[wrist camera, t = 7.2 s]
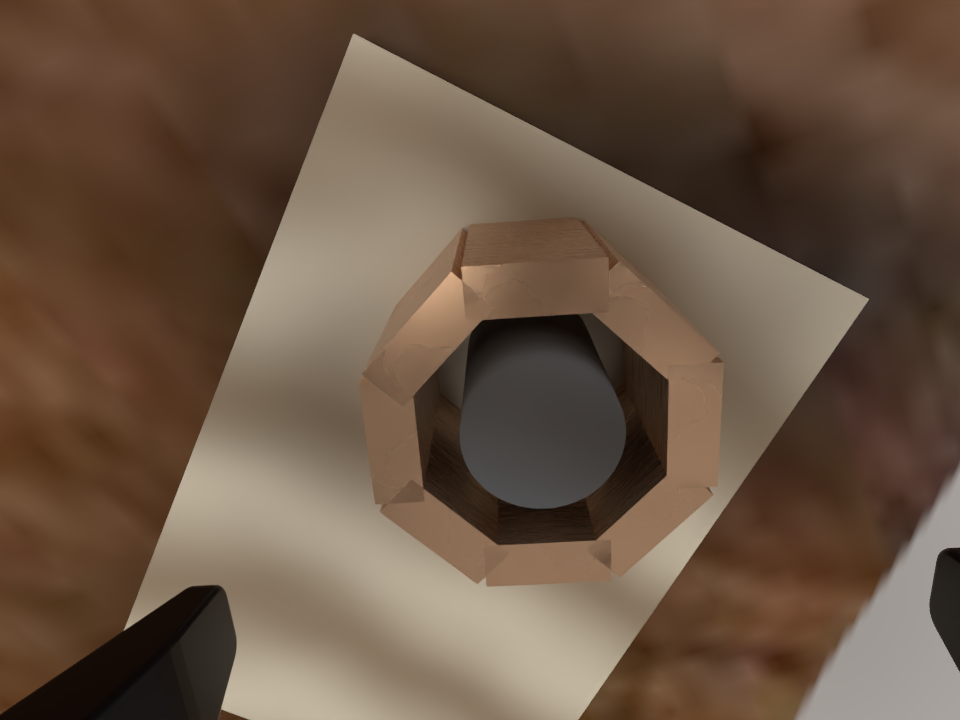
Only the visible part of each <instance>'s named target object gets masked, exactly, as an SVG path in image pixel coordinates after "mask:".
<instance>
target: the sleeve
mask: <svg viewBox="0 0 960 720" xmlns="http://www.w3.org/2000/svg"><path fill="white" fill-rule="evenodd" d="M586 313H593V314H594V315H595V316H596V317H597V318H598V319H599V320H600V321H602V322H603V323H604V324H605V325H606V326H607V327H608V328H609V329H611V330H612V331H613V332H614V333H615V334H616V335H617V336H619V337H620V338H621V339H622V384H621V385H620V386H619V387H618V388H617V389H616V390H615V393H616V396H617V398H618V400H619V402H620V405H621V408H622V410H623V414H624V418H625V424H626V440H625V445H624V450H623V453H622V456H621V459H620V461H619V463H618V465H617V467H616V469H615V470H614V472H613V473H612V474H611V476H610V477H609V478H608V479H607V480H606V481H605V483H604V484H603V485H602V486H600V487H599V488H598V489H597V490H596V491H594V492H593V493H591V494H590V495H588V496H587V497H585V498H583V499H581V500H579V501H577V502H574V503H571V504H568V505H565V506H561V507H556V508H547V509H534V508H526V507H521V506H517V505H514V504H511V503H508V502H505V501H503V500H501V499H499V498H498V497H496V496H494V495H493V494H491V493H490V492H488V491H487V490H486V489H485V488H484V487H483V486H481V485H480V484H479V482H478V481H477V480H476V479H475V478H474V477H473V475H472V474H471V472H470V471H469V469H468V467H467V465H466V463H465V461H464V458H463V455H462V451H461V446H460V422H461V412H462V410H461V409H459V408H458V407H457V406H456V405H454V404H453V403H452V402H451V401H449V400H448V399H447V398H446V397H444V396H443V395H442V394H441V393H440V382H439V372H438V368H439V367H440V366H441V365H442V364H443V362H444V361H445V360H446V359H447V358H448V357H449V356H450V355H451V354H452V353H453V352H454V350H455V349H456V348H457V347H458V346H459V345H460V344H461V343H462V342H463V341H464V339H465V338H466V337H467V336H468V335H469V334H470V333H471V332H472V331H473V330H474V328H475V327H476V326H477V325H478V324H479V323H480V322H481V321H482V320H489V319H505V318H521V317H538V316H554V315H570V314H586ZM719 354H720V353H719V352H718V350H717V349H716V348H715V347H714V346H713V345H712V344H711V343H710V342H709V341H708V340H707V339H706V338H705V337H704V336H703V335H702V334H701V332H700V331H699V330H698V329H697V328H696V327H695V326H694V325H693V324H692V323H691V322H690V321H689V320H688V319H687V318H686V317H685V316H684V314H683V313H682V312H681V311H680V310H679V309H678V308H677V307H676V306H675V305H674V304H673V303H672V302H671V301H670V300H669V299H668V297H667V296H666V295H665V294H664V293H663V292H662V291H661V290H660V289H659V288H658V287H657V286H656V285H655V284H654V283H652V282H651V281H650V280H649V279H648V278H647V277H646V276H645V275H644V274H643V273H642V272H641V271H639V270H638V269H637V268H636V267H635V266H634V265H633V264H632V263H631V262H630V261H629V260H627V259H626V258H625V257H624V256H623V255H622V254H621V253H620V252H619V251H618V250H617V249H615V248H614V247H613V246H612V245H611V244H610V243H609V242H608V241H607V240H606V239H605V238H604V237H602V236H601V235H600V234H599V233H598V232H597V231H596V230H595V229H594V228H593V227H592V226H590V225H589V224H588V223H587V222H586V221H585V220H583V222H582V223H581V222H580V221H579V220H578V218H577V217H570V218H555V219H540V220H525V221H510V222H495V223H480V224H470V225H469V230H468V232H467V231H465V230H464V229H463V228H462V229H461V230H460V231H459V232H458V233H457V235H456V236H455V237H454V238H453V239H452V240H451V242H450V243H449V244H448V245H447V246H446V247H445V249H444V250H443V251H442V252H441V253H440V254H439V256H438V257H437V258H436V259H435V260H434V261H433V263H432V264H431V265H430V266H429V267H428V268H427V270H426V271H425V272H424V273H423V274H422V275H421V277H420V278H419V279H418V280H417V281H416V282H415V284H414V285H413V286H412V287H411V288H410V289H409V290H408V292H407V293H406V294H405V295H404V296H403V297H402V299H401V300H400V301H399V302H398V303H397V304H396V306H395V308H394V310H393V312H392V314H391V316H390V318H389V320H388V322H387V324H386V326H385V328H384V330H383V332H382V334H381V336H380V338H379V340H378V342H377V344H376V346H375V348H374V350H373V352H372V354H371V356H370V358H369V360H368V362H367V364H366V366H365V368H364V370H363V373H362V375H363V376H362V378H361V380H360V382H359V389H360V397H361V404H362V412H363V419H364V426H365V434H366V441H367V449H368V456H369V463H370V471H371V478H372V486H373V493H374V500H375V504H382V507H381V510H380V513H381V514H383V515H384V516H386V517H387V518H388V519H390V520H391V521H392V522H394V523H395V524H396V525H398V526H399V527H400V528H402V529H403V530H404V531H406V532H407V533H409V534H410V535H411V536H413V537H414V538H415V539H417V540H418V541H419V542H421V543H422V544H423V545H425V546H426V547H428V548H429V549H430V550H432V551H433V552H434V553H436V554H437V555H438V556H440V557H441V558H442V559H444V560H445V561H446V562H448V563H449V564H451V565H452V566H453V567H455V568H456V569H457V570H459V571H460V572H461V573H463V574H464V575H465V576H467V577H468V578H469V579H471V580H472V581H474V582H475V583H476V584H478V583H479V582H480V581H481V580H482V579H483V578H485V577H486V587H496V586H517V585H538V584H559V583H580V582H601V581H611V571H613V572H614V573H615V574H616V575H618V576H619V577H621V576H623V575H624V574H625V573H626V572H627V571H628V570H629V569H630V568H632V567H633V566H634V565H635V564H636V563H637V562H638V561H640V560H641V559H642V558H643V557H644V556H645V555H646V554H647V553H649V552H650V551H651V550H652V549H653V548H654V547H655V546H656V545H658V544H659V543H660V542H661V541H662V540H663V539H664V538H666V537H667V536H668V535H669V534H670V533H671V532H672V531H673V530H675V529H676V528H677V527H678V526H679V525H680V524H681V523H682V522H684V521H685V520H686V519H687V518H688V517H689V516H690V515H692V514H693V513H694V512H695V511H696V510H697V509H698V508H699V507H701V506H702V505H703V504H704V503H705V502H706V501H707V500H708V499H710V498H711V497H712V496H713V493H712V492H711V490H710V488H709V487H718V471H719V451H720V430H721V410H722V389H723V369H724V362H723V361H722V360H721V359H720V358H719V357H718V355H719Z"/></svg>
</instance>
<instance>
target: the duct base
mask: <svg viewBox="0 0 960 720" xmlns="http://www.w3.org/2000/svg"><path fill="white" fill-rule="evenodd" d="M570 217H577V218H578V220H579V221H580V222H581V223H582V222H583V220H585V221H586V222H587V223H588V224H589V225H590V226H592V227H593V228H594V229H595V230H596V231H597V232H598V233H599V234H600V235H601V236H602V237H604V238H605V239H606V240H607V241H608V242H609V243H610V244H611V245H612V246H613V247H614V248H615V249H617V250H618V251H619V252H620V253H621V254H622V255H623V256H624V257H625V258H626V259H627V260H629V261H630V262H631V263H632V264H633V265H634V266H635V267H636V268H637V269H638V270H639V271H641V272H642V273H643V274H644V275H645V276H646V277H647V278H648V279H649V280H650V281H651V282H652V283H654V284H655V285H656V286H657V287H658V288H659V289H660V290H661V291H662V292H663V293H664V294H665V295H666V296H667V297H668V299H669V300H670V301H671V302H672V303H673V304H674V305H675V306H676V307H677V308H678V309H679V310H680V311H681V312H682V313H683V314H684V316H685V317H686V318H687V319H688V320H689V321H690V322H691V323H692V324H693V325H694V326H695V327H696V328H697V329H698V330H699V331H700V332H701V334H702V335H703V336H704V337H705V338H706V339H707V340H708V341H709V342H710V343H711V344H712V345H713V346H714V347H715V348H716V349H717V350H718V352H719V353H720V354H719V355H718V357H719V358H720V359H721V360H722V361H723V362H724V369H723V389H722V410H721V430H720V451H719V471H718V487H709V488H710V490H711V492H712V493H713V496H712V497H711V498H710V499H708V500H707V501H706V502H705V503H704V504H703V505H702V506H701V507H699V508H698V509H697V510H696V511H695V512H694V513H693V514H692V515H690V516H689V517H688V518H687V519H686V520H685V521H684V522H682V523H681V524H680V525H679V526H678V527H677V528H676V529H675V530H673V531H672V532H671V533H670V534H669V535H668V536H667V537H666V538H664V539H663V540H662V541H661V542H660V543H659V544H658V545H656V546H655V547H654V548H653V549H652V550H651V551H650V552H649V553H647V554H646V555H645V556H644V557H643V558H642V559H641V560H640V561H638V562H637V563H636V564H635V565H634V566H633V567H632V568H630V569H629V570H628V571H627V572H626V573H625V574H624V575H623V576H621V577H619V576H618V575H616V574H615V573H614V572H613V571H611V581H601V582H580V583H559V584H538V585H517V586H496V587H486V577H485V578H483V579H482V580H481V581H480V582H479V583H478V584H476V583H475V582H474V581H472V580H471V579H469V578H468V577H467V576H465V575H464V574H463V573H461V572H460V571H459V570H457V569H456V568H455V567H453V566H452V565H451V564H449V563H448V562H446V561H445V560H444V559H442V558H441V557H440V556H438V555H437V554H436V553H434V552H433V551H432V550H430V549H429V548H428V547H426V546H425V545H423V544H422V543H421V542H419V541H418V540H417V539H415V538H414V537H413V536H411V535H410V534H409V533H407V532H406V531H404V530H403V529H402V528H400V527H399V526H398V525H396V524H395V523H394V522H392V521H391V520H390V519H388V518H387V517H386V516H384V515H383V514H381V513H380V510H381V507H382V504H375V500H374V493H373V486H372V478H371V471H370V463H369V456H368V449H367V441H366V434H365V426H364V419H363V412H362V404H361V397H360V389H359V382H360V380H361V378H362V376H363V375H362V373H363V370H364V368H365V366H366V364H367V362H368V360H369V358H370V356H371V354H372V352H373V350H374V348H375V346H376V344H377V342H378V340H379V338H380V336H381V334H382V332H383V330H384V328H385V326H386V324H387V322H388V320H389V318H390V316H391V314H392V312H393V310H394V308H395V306H396V304H397V303H398V302H399V301H400V300H401V299H402V297H403V296H404V295H405V294H406V293H407V292H408V290H409V289H410V288H411V287H412V286H413V285H414V284H415V282H416V281H417V280H418V279H419V278H420V277H421V275H422V274H423V273H424V272H425V271H426V270H427V268H428V267H429V266H430V265H431V264H432V263H433V261H434V260H435V259H436V258H437V257H438V256H439V254H440V253H441V252H442V251H443V250H444V249H445V247H446V246H447V245H448V244H449V243H450V242H451V240H452V239H453V238H454V237H455V236H456V235H457V233H458V232H459V231H460V230H461V229H462V228H463V229H464V230H465V231H467V232H468V230H469V225H470V224H480V223H495V222H510V221H525V220H540V219H555V218H570ZM868 300H869V299H868V298H866V297H864V296H862V295H860V294H858V293H856V292H854V291H852V290H850V289H848V288H847V287H845V286H843V285H841V284H839V283H837V282H835V281H833V280H831V279H829V278H827V277H825V276H823V275H821V274H819V273H817V272H815V271H814V270H812V269H810V268H808V267H806V266H804V265H802V264H800V263H798V262H796V261H794V260H792V259H790V258H788V257H786V256H784V255H782V254H780V253H779V252H777V251H775V250H773V249H771V248H769V247H767V246H765V245H763V244H761V243H759V242H757V241H755V240H753V239H751V238H749V237H747V236H746V235H744V234H742V233H740V232H738V231H736V230H734V229H732V228H730V227H728V226H726V225H724V224H722V223H720V222H718V221H716V220H714V219H713V218H711V217H709V216H707V215H705V214H703V213H701V212H699V211H697V210H695V209H693V208H691V207H689V206H687V205H685V204H683V203H681V202H680V201H678V200H676V199H674V198H672V197H670V196H668V195H666V194H664V193H662V192H660V191H658V190H656V189H654V188H652V187H650V186H648V185H647V184H645V183H643V182H641V181H639V180H637V179H635V178H633V177H631V176H629V175H627V174H625V173H623V172H621V171H619V170H617V169H615V168H614V167H612V166H610V165H608V164H606V163H604V162H602V161H600V160H598V159H596V158H594V157H592V156H590V155H588V154H586V153H584V152H582V151H581V150H579V149H577V148H575V147H573V146H571V145H569V144H567V143H565V142H563V141H561V140H559V139H557V138H555V137H553V136H551V135H549V134H548V133H546V132H544V131H542V130H540V129H538V128H536V127H534V126H532V125H530V124H528V123H526V122H524V121H522V120H520V119H518V118H516V117H515V116H513V115H511V114H509V113H507V112H505V111H503V110H501V109H499V108H497V107H495V106H493V105H491V104H489V103H487V102H485V101H483V100H482V99H480V98H478V97H476V96H474V95H472V94H470V93H468V92H466V91H464V90H462V89H460V88H458V87H456V86H454V85H452V84H450V83H449V82H447V81H445V80H443V79H441V78H439V77H437V76H435V75H433V74H431V73H429V72H427V71H425V70H423V69H421V68H419V67H417V66H416V65H414V64H412V63H410V62H408V61H406V60H404V59H402V58H400V57H398V56H396V55H394V54H392V53H390V52H388V51H386V50H384V49H382V48H381V47H379V46H377V45H375V44H373V43H371V42H369V41H367V40H365V39H363V38H361V37H359V36H357V35H355V34H353V36H352V39H351V41H350V44H349V46H348V49H347V52H346V54H345V57H344V59H343V62H342V65H341V67H340V70H339V72H338V75H337V78H336V80H335V83H334V85H333V88H332V91H331V93H330V96H329V98H328V101H327V104H326V106H325V109H324V111H323V114H322V117H321V119H320V122H319V124H318V127H317V130H316V132H315V135H314V137H313V140H312V143H311V145H310V148H309V150H308V153H307V156H306V158H305V161H304V163H303V166H302V169H301V171H300V174H299V176H298V179H297V182H296V184H295V187H294V189H293V192H292V195H291V197H290V200H289V202H288V205H287V208H286V210H285V213H284V215H283V218H282V221H281V223H280V226H279V228H278V231H277V234H276V236H275V239H274V241H273V244H272V247H271V249H270V252H269V254H268V257H267V260H266V262H265V265H264V267H263V270H262V273H261V275H260V278H259V281H258V283H257V286H256V288H255V291H254V294H253V296H252V299H251V301H250V304H249V307H248V309H247V312H246V314H245V317H244V320H243V322H242V325H241V327H240V330H239V333H238V335H237V338H236V340H235V343H234V346H233V348H232V351H231V353H230V356H229V359H228V361H227V364H226V366H225V369H224V372H223V374H222V377H221V379H220V382H219V385H218V387H217V390H216V392H215V395H214V398H213V400H212V403H211V405H210V408H209V411H208V413H207V416H206V418H205V421H204V424H203V426H202V429H201V431H200V434H199V437H198V439H197V442H196V444H195V447H194V450H193V452H192V455H191V457H190V460H189V463H188V465H187V468H186V470H185V473H184V476H183V478H182V481H181V483H180V486H179V489H178V491H177V494H176V496H175V499H174V502H173V504H172V507H171V510H170V512H169V515H168V517H167V520H166V523H165V525H164V528H163V530H162V533H161V536H160V538H159V541H158V543H157V546H156V549H155V551H154V554H153V556H152V559H151V562H150V564H149V567H148V569H147V572H146V575H145V577H144V580H143V582H142V585H141V588H140V590H139V593H138V595H137V598H136V601H135V603H134V606H133V608H132V611H131V614H130V616H129V619H128V621H127V624H126V627H125V629H124V630H126V629H127V628H129V627H130V626H132V625H133V624H135V623H136V622H138V621H139V620H140V619H142V618H143V617H145V616H146V615H148V614H149V613H151V612H152V611H154V610H155V609H157V608H158V607H160V606H161V605H163V604H164V603H166V602H167V601H168V600H170V599H171V598H173V597H174V596H176V595H177V594H179V593H180V592H182V591H183V590H185V589H186V588H188V587H191V586H199V585H220V586H221V587H223V588H224V590H225V591H226V594H227V598H228V602H229V606H230V610H231V615H232V619H233V623H234V628H235V632H236V637H237V649H236V656H235V660H234V663H233V667H232V671H231V674H230V678H229V682H228V685H227V689H226V693H225V696H224V700H223V704H222V708H221V709H222V710H225V711H227V712H230V713H233V714H235V715H238V716H241V717H244V718H246V719H249V720H578V719H579V718H580V716H581V715H582V714H583V712H584V711H585V709H586V708H587V706H588V705H589V703H590V702H591V701H592V699H593V698H594V696H595V695H596V693H597V692H598V690H599V689H600V688H601V686H602V685H603V683H604V682H605V680H606V679H607V677H608V676H609V675H610V673H611V672H612V670H613V669H614V667H615V666H616V664H617V663H618V662H619V660H620V659H621V657H622V656H623V654H624V653H625V651H626V650H627V649H628V647H629V646H630V644H631V643H632V641H633V640H634V638H635V637H636V636H637V634H638V633H639V631H640V630H641V628H642V627H643V625H644V624H645V623H646V621H647V620H648V618H649V617H650V615H651V614H652V612H653V611H654V610H655V608H656V607H657V605H658V604H659V602H660V601H661V599H662V598H663V597H664V595H665V594H666V592H667V591H668V589H669V588H670V586H671V585H672V583H673V582H674V581H675V579H676V578H677V576H678V575H679V573H680V572H681V570H682V569H683V568H684V566H685V565H686V563H687V562H688V560H689V559H690V557H691V556H692V555H693V553H694V552H695V550H696V549H697V547H698V546H699V544H700V543H701V542H702V540H703V539H704V537H705V536H706V534H707V533H708V531H709V530H710V529H711V527H712V526H713V524H714V523H715V521H716V520H717V518H718V517H719V516H720V514H721V513H722V511H723V510H724V508H725V507H726V505H727V504H728V503H729V501H730V500H731V498H732V497H733V495H734V494H735V492H736V491H737V490H738V488H739V487H740V485H741V484H742V482H743V481H744V479H745V478H746V477H747V475H748V474H749V472H750V471H751V469H752V468H753V466H754V465H755V464H756V462H757V461H758V459H759V458H760V456H761V455H762V453H763V452H764V451H765V449H766V448H767V446H768V445H769V443H770V442H771V440H772V439H773V438H774V436H775V435H776V433H777V432H778V430H779V429H780V427H781V426H782V425H783V423H784V422H785V420H786V419H787V417H788V416H789V414H790V413H791V412H792V410H793V409H794V407H795V406H796V404H797V403H798V401H799V400H800V399H801V397H802V396H803V394H804V393H805V391H806V390H807V388H808V387H809V386H810V384H811V383H812V381H813V380H814V378H815V377H816V375H817V374H818V373H819V371H820V370H821V368H822V367H823V365H824V364H825V362H826V361H827V360H828V358H829V357H830V355H831V354H832V352H833V351H834V349H835V348H836V347H837V345H838V344H839V342H840V341H841V339H842V338H843V336H844V335H845V333H846V332H847V331H848V329H849V328H850V326H851V325H852V323H853V322H854V320H855V319H856V318H857V316H858V315H859V313H860V312H861V310H862V309H863V307H864V306H865V305H866V303H867V302H868ZM438 372H439V382H440V393H441V394H442V395H443V396H444V397H446V398H447V399H448V400H449V401H451V402H452V403H453V404H454V405H456V406H457V407H458V408H459V409H461V410H462V412H461V422H460V446H461V451H462V455H463V458H464V461H465V463H466V465H467V467H468V469H469V471H470V472H471V474H472V475H473V477H474V478H475V479H476V480H477V481H478V482H479V484H480V485H481V486H483V487H484V488H485V489H486V490H487V491H488V492H490V493H491V494H493V495H494V496H496V497H498V498H499V499H501V500H503V501H505V502H508V503H511V504H514V505H517V506H521V507H526V508H534V509H547V508H556V507H561V506H565V505H568V504H571V503H574V502H577V501H579V500H581V499H583V498H585V497H587V496H588V495H590V494H591V493H593V492H594V491H596V490H597V489H598V488H599V487H600V486H602V485H603V484H604V483H605V481H606V480H607V479H608V478H609V477H610V476H611V474H612V473H613V472H614V470H615V469H616V467H617V465H618V463H619V461H620V459H621V456H622V453H623V450H624V445H625V440H626V424H625V418H624V414H623V410H622V408H621V405H620V402H619V400H618V398H617V396H616V393H615V390H616V389H617V388H618V387H619V386H620V385H621V384H622V339H621V338H620V337H619V336H617V335H616V334H615V333H614V332H613V331H612V330H611V329H609V328H608V327H607V326H606V325H605V324H604V323H603V322H602V321H600V320H599V319H598V318H597V317H596V316H595V315H594V314H593V313H586V314H570V315H554V316H538V317H521V318H505V319H489V320H482V321H481V322H480V323H479V324H478V325H477V326H476V327H475V328H474V330H473V331H472V332H471V333H470V334H469V335H468V336H467V337H466V338H465V339H464V341H463V342H462V343H461V344H460V345H459V346H458V347H457V348H456V349H455V350H454V352H453V353H452V354H451V355H450V356H449V357H448V358H447V359H446V360H445V361H444V362H443V364H442V365H441V366H440V367H439V368H438Z"/></svg>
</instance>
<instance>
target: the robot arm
mask: <svg viewBox="0 0 960 720" xmlns="http://www.w3.org/2000/svg"><path fill="white" fill-rule="evenodd" d="M930 614H931V618H932V621H933V623H934V625H935V627H936V629H937V631H938V633H939V635H940V636H941V638H942V640H943V642H944V644H945V646H946V647H947V649H948V651H949V653H950V655H951V657H952V658H953V660H954V662H955V664H956V666H957V667H958V670H959V671H960V548H947V549H945V550H943V551H941V552H940V554H939V555H938V558H937V562H936V567H935V573H934V579H933V585H932V591H931V596H930ZM236 649H237V637H236V632H235V628H234V623H233V619H232V615H231V610H230V606H229V602H228V598H227V594H226V591H225V590H224V588H223V587H221V586H220V585H199V586H191V587H188V588H186V589H185V590H183V591H182V592H180V593H179V594H177V595H176V596H174V597H173V598H171V599H170V600H168V601H167V602H166V603H164V604H163V605H161V606H160V607H158V608H157V609H155V610H154V611H152V612H151V613H149V614H148V615H146V616H145V617H143V618H142V619H140V620H139V621H138V622H136V623H135V624H133V625H132V626H130V627H129V628H127V629H126V630H124V631H123V632H121V633H120V634H118V635H117V636H115V637H114V638H112V639H111V640H109V641H108V642H107V643H105V644H104V645H102V646H101V647H99V648H98V649H96V650H95V651H93V652H92V653H90V654H89V655H87V656H86V657H84V658H83V659H81V660H80V661H78V662H77V663H76V664H74V665H73V666H71V667H70V668H68V669H67V670H65V671H64V672H62V673H61V674H59V675H58V676H56V677H55V678H53V679H52V680H50V681H49V682H47V683H46V684H45V685H43V686H42V687H40V688H39V689H37V690H36V691H34V692H33V693H31V694H30V695H28V696H27V697H25V698H24V699H22V700H21V701H19V702H18V703H16V704H15V705H13V706H12V707H11V708H9V709H8V710H6V711H5V712H3V713H2V714H0V720H218V719H219V715H220V711H221V708H222V704H223V700H224V696H225V693H226V689H227V685H228V682H229V678H230V674H231V671H232V667H233V663H234V660H235V656H236Z"/></svg>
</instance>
